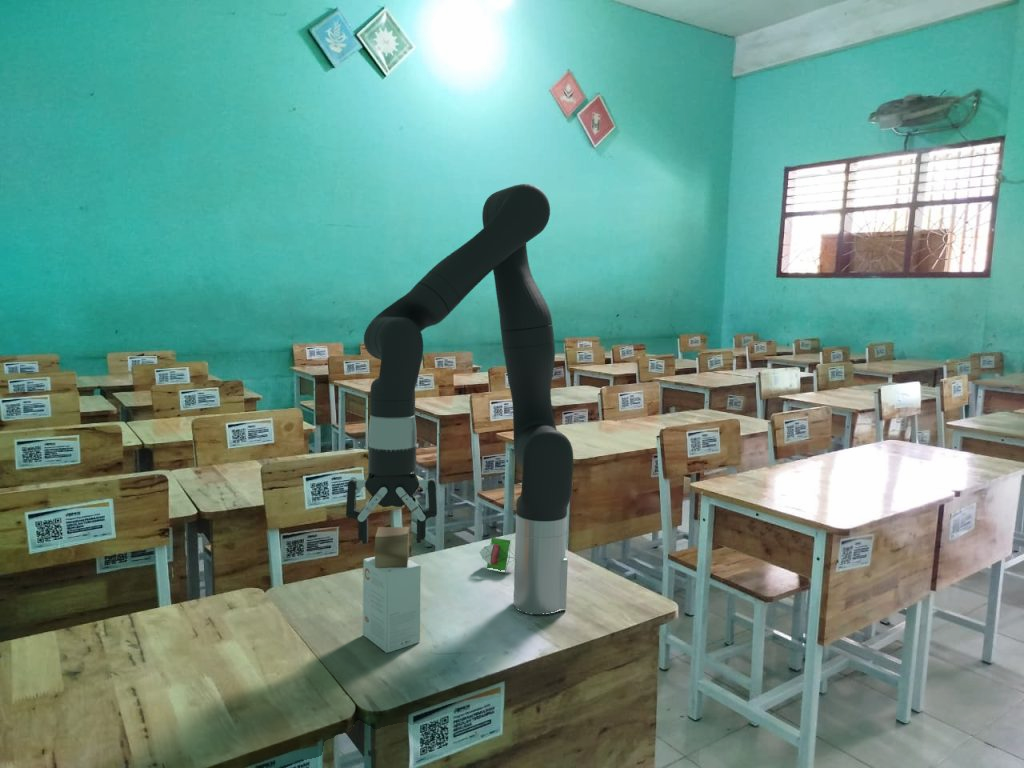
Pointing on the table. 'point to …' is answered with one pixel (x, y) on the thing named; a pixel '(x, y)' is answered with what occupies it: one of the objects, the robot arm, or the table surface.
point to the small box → (391, 605)
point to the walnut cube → (392, 547)
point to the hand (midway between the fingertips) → (392, 542)
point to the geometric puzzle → (496, 554)
